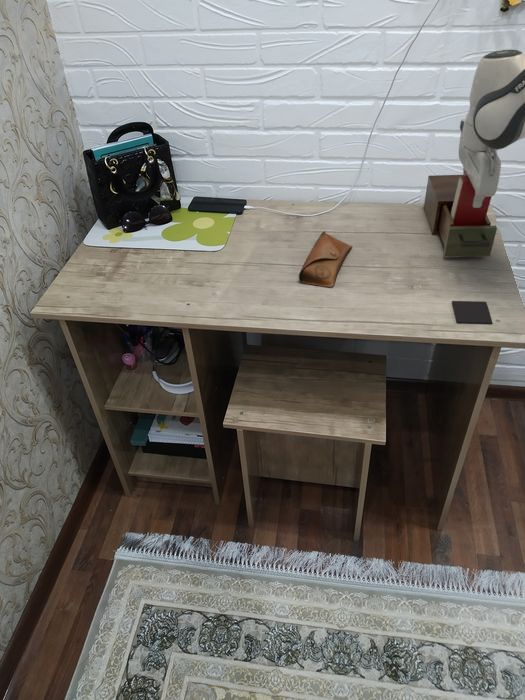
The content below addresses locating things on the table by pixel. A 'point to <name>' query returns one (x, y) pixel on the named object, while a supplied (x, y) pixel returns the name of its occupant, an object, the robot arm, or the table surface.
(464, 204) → the book
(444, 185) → the cabinet
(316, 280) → the sunglasses case
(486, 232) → the drawer
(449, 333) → the table surface
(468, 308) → the coaster
